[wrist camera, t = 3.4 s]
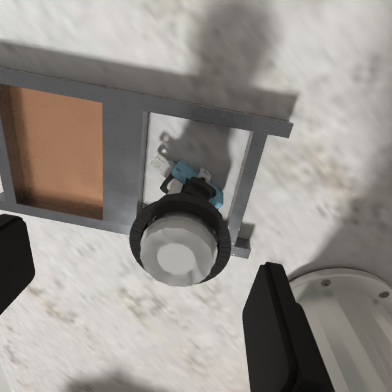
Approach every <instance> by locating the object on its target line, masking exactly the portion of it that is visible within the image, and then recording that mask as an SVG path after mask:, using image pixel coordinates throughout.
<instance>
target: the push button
mask: <svg viewBox="0 0 392 392" xmlns="http://www.w3.org/2000/svg"><path fill="white" fill-rule="evenodd" d="M160 159H163V161H162V160H160ZM156 163H157V164H158V165H160V166H157V165H156ZM151 165H152V166H153V167H155V168H156V169H158V170H159V171H160V172H162V173H161V175H163V176H164V177H166V179H165V181H164V182H163V184H162V185H161V187H160V189H161V190H162V191H163V192H164V193H166V194H167V195H165V196H163V197H162V198H161V199H160V200H158V201H156V202H153V203H151V204H150V205H148V206H147V207H145V208H144V209H143V210H142V211H141V212H140V213H139V214H138V216H137V217H136V219H135V221H134V222H133V224H132V227H131V230H130V236H129V241H130V247H131V251H132V253H133V255H134V257H135V259H136V261H137V262H138V263H139V264H140V266H141V267H142V268H143V269H144V270H145V271H147V272H148V273H149V274H150V275H151V276H152V277H153V278H155V279H156V280H157V281H160V282H162V283H165V284H167V285H169V286H180V287H187V286H192V285H194V284H199V283H203V282H206V281H208V280H210V279H212V278H214V277H215V276H216V275H218V274H219V273H220V272H221V271H222V270H223V269H224V267H225V266H226V265H227V263H228V261H229V258H230V254H231V237H230V233H229V230H228V227H227V225H226V224H225V222H224V220H223V218H222V215H221V213H220V212H219V211H218V209H219V208H220V207H221V206H222V205H223V192H222V190H220V189H219V188H218V187H216V186H215V185H213V184H212V183H211V182H210V181H211V174H210V173H209V172H208V171H206V170H205V169H204V168H202V167H201V168H200V172H199V173H198V172H196V171H195V170H194V169H192V168H191V167H190V166H188V165H187V164H186V163H184V162H183V161H181V160H179V161H178V163H177V164H175V163H174V162H172V161H171V160H170V161H168V160H167V159H166V158H164V157H163V156H162V155H160V154H158V155H157V156H156V157H155V158H154V160H153V161H152V162H151ZM205 172H206V173H207V174H208V175H207V174H206V173H205ZM155 216H156V218H155V220H154V222H153V223H152V224H151V225H150V226H149V227H148V223H149V221H150V220H151V219H152V218H154V217H155ZM214 231H215V232H216V234H217V236H218V239H219V240H218V242H217V244H216V242H215V239H214Z"/></svg>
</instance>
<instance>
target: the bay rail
mask: <svg viewBox="0 0 392 392" xmlns="http://www.w3.org/2000/svg"><path fill="white" fill-rule="evenodd" d="M149 112H153V113H158V114H164V115H169V116H174V117H180V118H185V119H190V120H195V121H201V122H206V123H211V124H217V125H222V126H227V127H232V128H238V129H243V130H248V131H250V135H249V139H248V143H247V146H246V150H245V154H244V158H243V162H242V165H241V169H240V173H239V177H238V181H237V184H236V188H235V192H234V196H233V200H232V203H231V207H230V211H229V215H228V219H227V222H226V225H227V227H228V230H229V233H230V237H231V254H230V255H232V256H237V257H242V258H247V259H248V257H249V254H250V251H251V248H250V242H249V240H246V239H241V238H237V236H238V233H239V229H240V226H241V223H242V219H243V216H244V213H245V209H246V206H247V202H248V199H249V196H250V192H251V189H252V186H253V182H254V179H255V175H256V172H257V169H258V165H259V162H260V159H261V155H262V152H263V148H264V145H265V142H266V138H267V135H268V134H269V135H275V136H280V137H285V138H289V136H290V133H291V130H292V127H293V123H291V122H289V121H286V120H280V119H275V118H270V117H264V116H259V115H254V114H248V113H243V112H238V111H232V110H227V109H222V108H216V107H211V106H206V105H201V104H195V103H190V102H185V101H179V100H174V99H169V98H163V97H158V96H153V95H147V94H142V93H137V92H131V91H126V90H121V89H116V88H110V87H105V86H100V85H94V84H89V83H84V82H78V81H73V80H68V79H62V78H57V77H52V76H46V75H41V74H36V73H31V72H25V71H20V70H15V69H9V68H4V67H0V176H1V180H2V185H3V190H4V192H2V193H0V210H5V211H10V212H15V213H20V214H25V215H30V216H35V217H40V218H45V219H50V220H55V221H60V222H65V223H70V224H75V225H80V226H86V227H91V228H96V229H101V230H106V231H111V232H116V233H121V234H126V235H130V230H131V227H132V224H133V222H134V221H135V219H136V217H137V216H138V214H139V213H140V212H141V208H142V195H143V182H144V169H145V156H146V143H147V130H148V117H149ZM153 222H154V221H149V223H148V227H149V226H150V225H151V224H152V223H153ZM214 239H215V242H216V244H217V242H218V240H219V239H218V236H217V234H215V233H214Z"/></svg>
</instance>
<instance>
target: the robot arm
mask: <svg viewBox="0 0 392 392" xmlns="http://www.w3.org/2000/svg"><path fill="white" fill-rule="evenodd" d="M34 276H35V268H34V263H33V257H32V252H31V247H30V242H29V236H28V231H27V226H26V223H25V222H24V221H23V219H22V218H21V217H19V216H14V215H8V214H2V215H0V315H1V314H2V313H3V312H4V310H5V309H6V308H7V307H8V306H9V305H10V304H11V303H12V302H13V301H14V300H15V299H16V297H17V296H18V295H19V294H20V293H21V292H22V291H23V290H24V289H25V288H26V287H27V286H28V284H29V283H30V282H31V281H32V280H33V278H34ZM242 319H243V328H244V337H245V346H246V355H247V364H248V372H249V381H250V390H251V392H392V289H391V287H390V286H389V285H388V284H387V283H386V282H385V281H383V280H381V279H380V278H378V277H377V276H375V275H372V274H370V273H367V272H365V271H360V270H355V269H347V268H333V269H323V270H319V271H315V272H311V273H308V274H305V275H303V276H300V277H298V278H296V279H295V280H293V281H291V282H289V281H288V279H287V276H286V273H285V270H284V268H283V266H282V265H281V264H277V263H272V262H266V263H265V265H260V267H259V270H258V272H257V275H256V278H255V280H254V283H253V286H252V288H251V291H250V293H249V296H248V299H247V301H246V304H245V307H244V309H243V315H242Z"/></svg>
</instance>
